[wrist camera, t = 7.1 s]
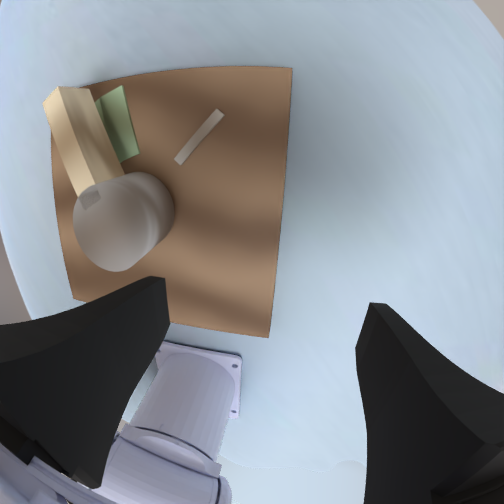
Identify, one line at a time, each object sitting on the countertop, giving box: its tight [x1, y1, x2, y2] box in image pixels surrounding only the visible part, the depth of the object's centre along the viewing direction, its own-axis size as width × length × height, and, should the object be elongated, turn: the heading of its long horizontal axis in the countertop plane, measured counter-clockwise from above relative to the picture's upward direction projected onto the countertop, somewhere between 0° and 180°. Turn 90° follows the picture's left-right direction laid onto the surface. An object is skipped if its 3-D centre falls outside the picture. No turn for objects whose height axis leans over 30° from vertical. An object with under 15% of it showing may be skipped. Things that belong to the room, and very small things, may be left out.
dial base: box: [51, 66, 292, 338], centre depth 18 cm, size 18×18×1 cm
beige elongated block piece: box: [43, 86, 174, 272], centre depth 15 cm, size 12×5×4 cm, turn 25°
